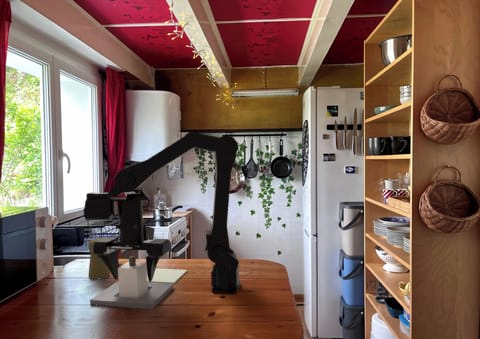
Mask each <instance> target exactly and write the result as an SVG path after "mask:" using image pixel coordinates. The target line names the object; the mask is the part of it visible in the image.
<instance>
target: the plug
mask: <svg viewBox="0 0 480 339" xmlns="http://www.w3.org/2000/svg"><path fill="white" fill-rule="evenodd" d="M136 260H137V259H136V256H135V255H131V256H129V257H128V261H127V262H126V263H124V264H122V265H121V266H120V265H119V268H118V279H117V280H118V281H119V297H128V298H140V297H142V296H143V295H144V294H145V293H146V292H147V291H148V286H147V283H148V282H147V265H146V261H136Z"/></svg>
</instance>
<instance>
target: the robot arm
mask: <svg viewBox="0 0 480 339" xmlns="http://www.w3.org/2000/svg"><path fill="white" fill-rule="evenodd" d="M195 148H196V149H199V150H204V151H208V152H211V153H213V156H214V158H213V159H214V165H215V184H214V196H213V198H214V199H213V207H212V208H213V210H212V211H213V212H212V223H211V226H210V230H209V229H204V234H205V238H204V242H203V248H204V249H203V250H204V252H206V256H207V258H208V259H209V261H211V262H212V263H214V264H213V265H212V270H211V272H210V279H211V280H210V281H211V282H210V283H211V287H212V288H211V292H212V293H224V294H237V292H238V290H239V288H240V286H241V285H242V283H241V281H240V268H239V267H240V266H239V265H240V262H239V259H238V256H237V255H236V253H235V250H233V249H232V248H231V247H230V238H229V232H228V219H229V218H228V217H229V203H230V192H231V191H230V190H231V180H232V179H231V177H232V176H231V175H232V171H233V167H234V165H235V162H236V157H237V156H238V155H237V154H238V151H239V144H238V141H237V140H236V139H235V138H234V137H233V136H231V135H228V134H227V135H222V136H220V137H219V136H214V135H210V134H209V135H208V134H203V133H199V132H197V131H195V130H193V131H189V132H187V133H186V134H185V135H184V136H183V137H180V138H179V139H178V140H176V141H175V142H172V143H171V144H170V145H168V146H166V147H165V148H163V149H162V150H160V151H158V152H157V153H155V154H154V155H152V156H151V157H149V158H148V159H146V160H143V161H141V162H137V163H134V164H133V165H130V166H128V167H125V168H122V169H120V170H119V171H118V172H117V173H116V174H115V178H114V184H113V186H112V187H111V189H109V190H108V192H88V193H86V199H85V202H84V207H83V215H84V219H85V220H86V221H87V222H88V221H89V222H90V221H105V220H107V221H108V220H110V221H111V220H112V219H113V216H117V213H118V224H115V229H116V230H118V232H119V238H118V237H103V239H101V240H98V241H96V242H95V243H94V244H93V246H92V248H93V254H98V255H97V256H98V257H100V258H101V259H102V260H103V262H104V263H105V264H106V266H107V267H108V269H109V270H110V275H112V277H113V278H114V281H117V280H118V268H119V267H120V265H119V259H118V255H119V252H120V250H121V251H122V250H124V251H146V254H147V256H146V257H145V262H146V265H147V275H148V280H149V282H148V283H150V282H151V281H152V279H153V276H154V273H155V269H157V266H158V263H159V261H160V259H161V257H163V256H164V255H166V254H168V252H170V251H171V250H172V242H171V241H170V239H169V238H155V239H154V237H155V229H156V228H155V227H153V226H152V227H151V226H148V225H147V222H146V220H144V218H143V217H144V213H143V201H149V199H151V196H150V195H149V194H147V192H146V191H145V190H144V189H142V190H140V192H136V193H135V192H134V193H133V191H136V190H137V189H139V188H141V186H142V185H144V183H145V182H146V181H148V180H149V179H150V178H151V177H152V176H153V175H154V174H155V173H156V172H157V171H159V170H161V169H162V168H164V167H165V166H167V165H169V164H170V163H171V162H173V161H175V160H176V159H178V158H180V157H181V156H183V155H184V154H187V153H188V152H189V151H191V150H192V149H195ZM125 193H127V194H126V196H125V197H119V196H121V195H122V194H125ZM146 241H149V242H146Z"/></svg>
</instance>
